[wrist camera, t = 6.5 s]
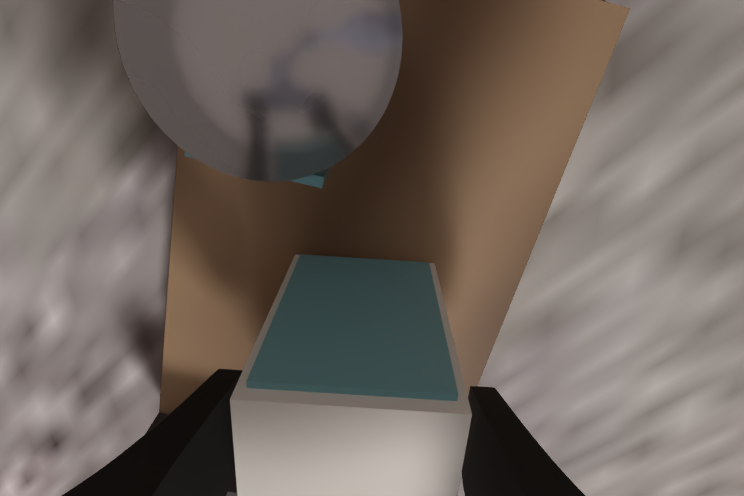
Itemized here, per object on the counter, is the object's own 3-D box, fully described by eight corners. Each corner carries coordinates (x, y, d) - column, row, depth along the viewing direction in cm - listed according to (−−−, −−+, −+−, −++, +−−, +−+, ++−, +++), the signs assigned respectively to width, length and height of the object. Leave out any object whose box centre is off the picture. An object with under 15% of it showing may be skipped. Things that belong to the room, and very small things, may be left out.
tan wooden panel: (606, 13, 12) (696, -5, 8) (429, 467, 18) (440, 561, 14) (214, -94, 11) (140, -160, 8) (171, 416, 17) (120, 503, 14)
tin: (413, -24, 10) (438, -90, 6) (372, 152, 12) (365, 212, 7) (238, -72, 10) (115, -180, 5) (219, 115, 12) (110, 154, 7)
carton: (415, 425, 15) (432, 631, 10) (296, 417, 15) (247, 619, 10) (435, 258, 13) (473, 407, 7) (295, 249, 13) (229, 392, 7)
